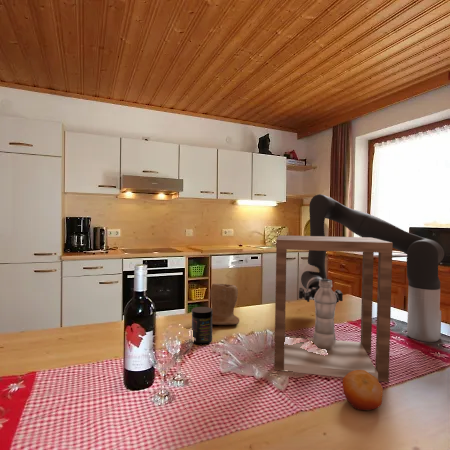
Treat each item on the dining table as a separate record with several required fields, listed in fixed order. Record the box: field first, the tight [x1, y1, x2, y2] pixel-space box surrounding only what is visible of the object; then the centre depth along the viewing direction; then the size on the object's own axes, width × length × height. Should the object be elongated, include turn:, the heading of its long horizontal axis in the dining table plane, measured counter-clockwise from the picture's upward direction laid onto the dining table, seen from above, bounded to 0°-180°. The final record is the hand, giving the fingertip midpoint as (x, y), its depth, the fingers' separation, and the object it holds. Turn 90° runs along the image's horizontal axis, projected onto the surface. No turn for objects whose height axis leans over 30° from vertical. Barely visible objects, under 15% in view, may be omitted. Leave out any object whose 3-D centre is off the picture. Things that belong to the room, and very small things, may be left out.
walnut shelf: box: [273, 234, 393, 383], centre depth 92 cm, size 20×28×34 cm
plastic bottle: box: [312, 278, 337, 349], centre depth 95 cm, size 6×7×20 cm
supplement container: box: [191, 306, 213, 346], centre depth 103 cm, size 7×7×10 cm
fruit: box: [342, 370, 384, 411], centre depth 70 cm, size 8×8×8 cm
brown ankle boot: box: [209, 283, 240, 326], centre depth 122 cm, size 15×12×15 cm
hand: (322, 299), depth 104 cm, fingers open, 8 cm apart
